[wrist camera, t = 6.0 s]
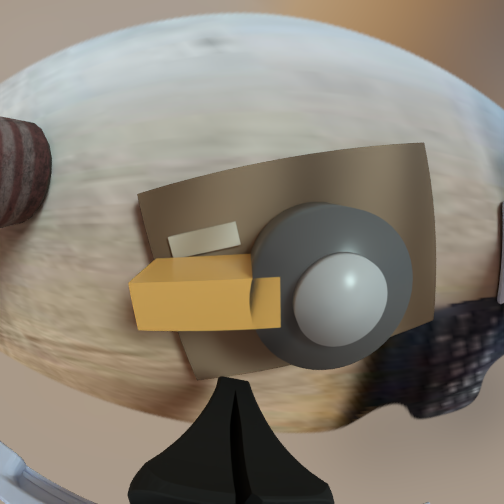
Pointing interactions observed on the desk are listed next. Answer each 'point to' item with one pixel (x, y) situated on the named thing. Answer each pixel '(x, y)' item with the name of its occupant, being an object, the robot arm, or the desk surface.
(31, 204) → the can
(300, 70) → the desk surface
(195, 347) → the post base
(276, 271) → the toy saucepan
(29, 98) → the desk surface
